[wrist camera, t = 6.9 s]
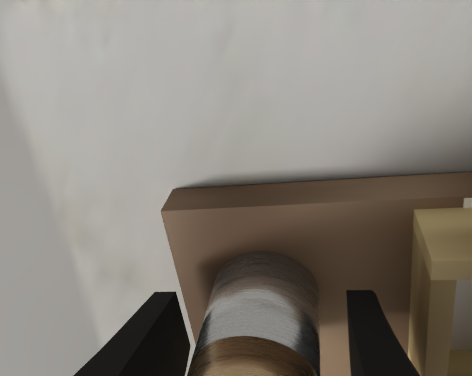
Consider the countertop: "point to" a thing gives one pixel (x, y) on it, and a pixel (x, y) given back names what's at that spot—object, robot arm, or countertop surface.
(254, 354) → the silver and brown cylinder
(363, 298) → the robot arm
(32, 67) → the countertop surface
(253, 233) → the board
